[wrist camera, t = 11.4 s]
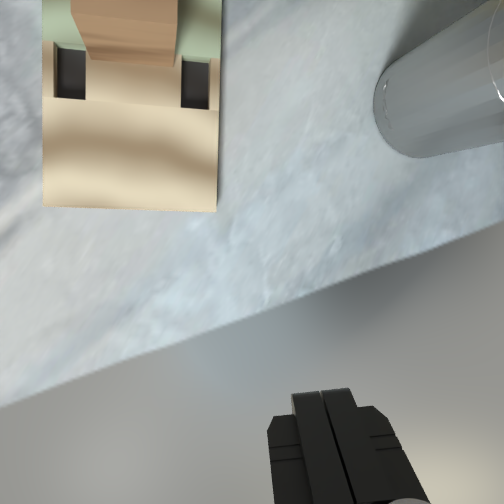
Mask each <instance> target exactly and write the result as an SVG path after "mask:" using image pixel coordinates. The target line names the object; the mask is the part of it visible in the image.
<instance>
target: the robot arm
mask: <svg viewBox="0 0 504 504" xmlns="http://www.w3.org/2000/svg"><path fill="white" fill-rule="evenodd" d="M374 115H375V120H376V124H377V126H378V128H379V131H380V133H381V134H382V136H383V137H384V139H385V140H386V142H387V143H388V144H389V145H390V146H391V147H392V148H393V149H395V150H397V151H398V152H400V153H401V154H404V155H406V156H409V157H414V158H426V157H432V156H437V155H442V154H447V153H451V152H457V151H462V150H467V149H471V148H476V147H481V146H485V145H490V144H495V143H500V142H504V0H488V1H487V2H485V3H484V4H482V5H481V6H479V7H478V8H476V9H475V10H473V11H471V12H470V13H468V14H467V15H465V16H464V17H462V18H461V19H459V20H458V21H456V22H455V23H453V24H451V25H450V26H448V27H447V28H445V29H444V30H442V31H441V32H439V33H438V34H436V35H434V36H433V37H431V38H430V39H428V40H427V41H425V42H424V43H422V44H420V45H419V46H417V47H416V48H414V49H413V50H411V51H410V52H408V53H407V54H405V55H404V56H402V57H401V58H399V59H397V60H396V61H394V62H393V63H392V64H391V65H390V66H389V67H388V68H387V69H386V70H385V71H384V73H383V74H382V76H381V78H380V79H379V82H378V84H377V87H376V90H375V95H374ZM291 402H292V414H291V415H283V416H274V417H273V419H272V422H271V424H270V426H269V428H268V430H267V434H268V435H267V436H268V445H269V455H270V464H271V474H272V484H273V494H274V503H275V504H431V503H430V501H429V500H428V498H427V496H426V494H425V492H424V490H423V488H422V486H421V484H420V482H419V480H418V478H417V476H416V474H415V472H414V470H413V468H412V466H411V464H410V462H409V460H408V458H407V456H406V454H405V452H404V450H402V446H401V444H400V442H399V440H398V438H397V437H396V436H395V432H394V430H393V428H392V426H391V424H390V422H389V420H388V418H387V417H385V416H384V415H383V414H382V413H381V412H379V411H378V410H377V409H376V408H375V407H374V406H366V407H357V405H356V403H355V400H354V398H353V396H352V393H351V391H350V389H349V388H341V389H332V390H323V391H321V392H319V391H314V392H305V393H296V394H291Z"/></svg>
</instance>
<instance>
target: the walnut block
mask: <svg viewBox="0 0 504 504" xmlns="http://www.w3.org/2000/svg"><path fill="white" fill-rule="evenodd" d="M70 6H71V15H72V17H73V19H74V22H75V24H76V26H77V28H78V31H79V33H80V35H81V38H82V40H83V42H84V44H85V47H86V49H87V51H88V54H89V56H90V58H91V60H101V61H112V62H122V63H133V64H144V65H155V66H165V67H173V64H174V53H175V43H176V32H177V8H178V0H70Z"/></svg>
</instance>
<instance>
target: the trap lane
mask: <svg viewBox="0 0 504 504" xmlns="http://www.w3.org/2000/svg"><path fill="white" fill-rule="evenodd" d="M221 13H222V0H178V8H177V32H176V43H175V53H174V64H173V67H165V66H155V65H144V64H133V63H122V62H112V61H101V60H91V58H90V56H89V54H88V51H87V49H86V47H85V44H84V42H83V40H82V38H81V35H80V33H79V31H78V28H77V26H76V24H75V22H74V19H73V17H72V15H71V6H70V0H42V99H43V206H45V207H73V208H102V209H131V210H160V211H190V212H216V203H217V165H218V127H219V89H220V51H221Z"/></svg>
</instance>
